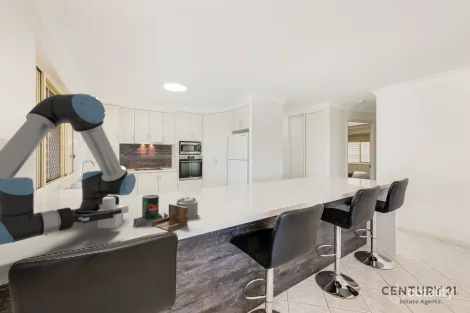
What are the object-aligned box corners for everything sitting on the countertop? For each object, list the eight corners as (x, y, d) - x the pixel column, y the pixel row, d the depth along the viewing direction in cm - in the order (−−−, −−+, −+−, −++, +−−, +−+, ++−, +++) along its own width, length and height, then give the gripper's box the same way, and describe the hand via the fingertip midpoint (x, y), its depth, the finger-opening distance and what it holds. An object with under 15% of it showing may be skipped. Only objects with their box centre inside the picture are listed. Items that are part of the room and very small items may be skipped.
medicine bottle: (106, 222, 93) (106, 194, 92) (123, 222, 93) (123, 194, 93) (97, 228, 86) (97, 198, 85) (115, 227, 86) (115, 198, 86)
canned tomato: (153, 220, 105) (153, 198, 104) (138, 219, 106) (138, 197, 106) (161, 216, 112) (161, 195, 112) (148, 215, 114) (148, 194, 114)
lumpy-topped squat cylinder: (180, 218, 109) (180, 201, 109) (174, 212, 120) (174, 196, 120) (199, 215, 114) (199, 199, 114) (192, 210, 125) (192, 195, 125)
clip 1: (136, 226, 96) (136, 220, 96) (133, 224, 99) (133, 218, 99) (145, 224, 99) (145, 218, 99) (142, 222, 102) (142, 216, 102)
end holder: (152, 225, 98) (152, 207, 98) (170, 219, 106) (170, 203, 106) (169, 231, 91) (169, 212, 91) (187, 224, 99) (187, 207, 99)
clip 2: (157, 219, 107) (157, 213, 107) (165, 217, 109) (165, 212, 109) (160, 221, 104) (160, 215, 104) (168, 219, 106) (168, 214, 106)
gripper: (46, 224, 81) (108, 211, 99) (69, 238, 68) (136, 220, 87) (46, 204, 81) (108, 195, 99) (69, 215, 68) (135, 201, 86)
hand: (121, 206), depth 93 cm, fingers closed on medicine bottle, 10 cm apart
